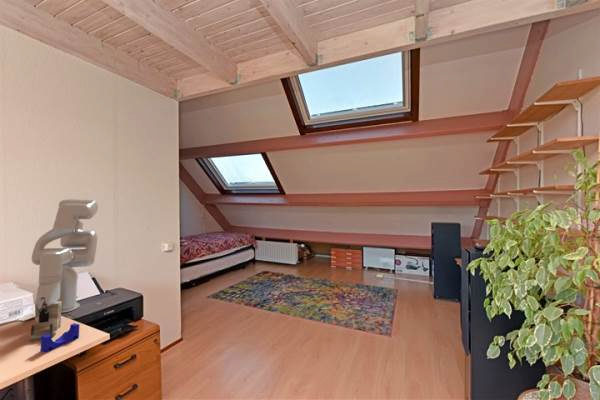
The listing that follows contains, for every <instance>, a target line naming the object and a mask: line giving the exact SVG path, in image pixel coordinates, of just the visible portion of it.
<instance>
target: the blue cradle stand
mask: <svg viewBox="0 0 600 400" xmlns="http://www.w3.org/2000/svg"><path fill="white" fill-rule="evenodd" d="M79 338H80V324H79V323H71V324H70V325H69V329H68V330H66V331H65V332H63V334H62V335H61V336H59V337H57V338H56V339H55V340H54V341H53V339H52V338H51V336H50V335H43V336H41V340H40V352H42V353H48V352H50V351H53V350H55V349H57V348H59V347H61V346H64V345H66V344H69V343H70V342H73V341H75V340H77V339H79Z"/></svg>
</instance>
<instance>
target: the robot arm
mask: <svg viewBox="0 0 600 400" xmlns="http://www.w3.org/2000/svg"><path fill="white" fill-rule="evenodd" d="M98 211H99V204H98V202H97V201H96V200H95V199H75V198H73V199H72V198H70V199H63V200H61V201H59V203H58V208H57V213H56V215H55V220H54V222H53V226H52V229H49V230H48V231H47V232H45V233H44V234H43V235H41V236H40V237H39V238H38V239H37V241H36V243H35V244H34V248H33V251H32V253H31V262H32V264H34V265H35V266H39V267H38V268H39V270H38V288H37V291H36V298H35V308H36V307H38V308H37V310H38V311H39V323H43V322H48V321H49V313H48V310H49V306H50V305H52V304H53V303H55V302H59V301H62V305H61V314H62V313H63V314H64V313H67V312H71V311H75V310H77V309H78V308H79V307H80V306H81V305H80V303H79V302H77V299H78V293H77V292H78V273H77V271H76V270H75V269H74V268H81V267H82V268H83V267H91V266H93V264H94V263H95V258H96V251H97V246H98V234H97V233H96V231H94V230H83V228H84V223H83V221H82V220H90V219H92V218H93V217H94V216H95V215H96V214H97V212H98ZM56 240H60V246H61V247H52V248H47V247H46V246H47V245H49V243H51V242H53V241H56ZM45 247H46V248H45ZM46 304H47V306H44V305H46ZM44 307H46V310H45V309H43V308H44Z"/></svg>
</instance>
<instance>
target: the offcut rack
mask: <svg viewBox="0 0 600 400" xmlns="http://www.w3.org/2000/svg"><path fill="white" fill-rule="evenodd" d="M54 330H55V329H54V326H53V324H50V327H40V328H37V329H36V330H35V324H33V325H31V327H30V338H29V342H36V341H38V342H39V341H41V336H43V335H50V336H51V338H54V337H55V336H56V335H57V332H55V331H56V330H55V331H54Z"/></svg>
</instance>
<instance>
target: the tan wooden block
mask: <svg viewBox="0 0 600 400" xmlns="http://www.w3.org/2000/svg"><path fill="white" fill-rule="evenodd" d="M61 305H62V301H59V302H55V303H53V304H52V305H50V306H49V310H48V313H49V321H48V322H43V323H39V311H38V310H37V308H38V307H36V306H35V312H34V313H35V314H34V315H35V316H34V325H35V330H36V329H37V328H40V327H50V324H53V326H54V329H55V331H58V330H59V329H60V328H61V323H62V321H61V320H62V313H61ZM44 306H47V304H46V305H44ZM43 309H45V310H46V307H44V308H43Z"/></svg>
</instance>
